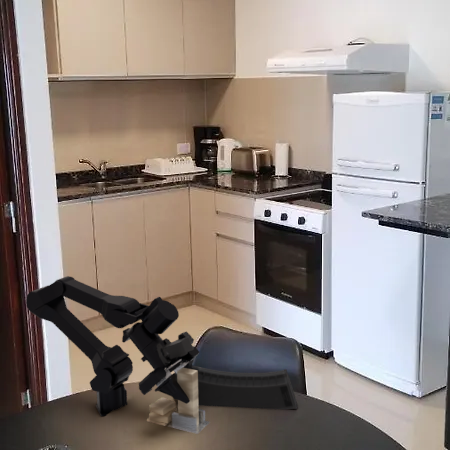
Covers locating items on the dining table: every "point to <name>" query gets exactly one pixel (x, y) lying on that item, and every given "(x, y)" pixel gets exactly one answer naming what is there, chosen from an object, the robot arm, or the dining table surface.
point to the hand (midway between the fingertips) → (193, 398)
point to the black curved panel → (245, 389)
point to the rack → (189, 422)
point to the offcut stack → (162, 411)
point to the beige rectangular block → (189, 392)
